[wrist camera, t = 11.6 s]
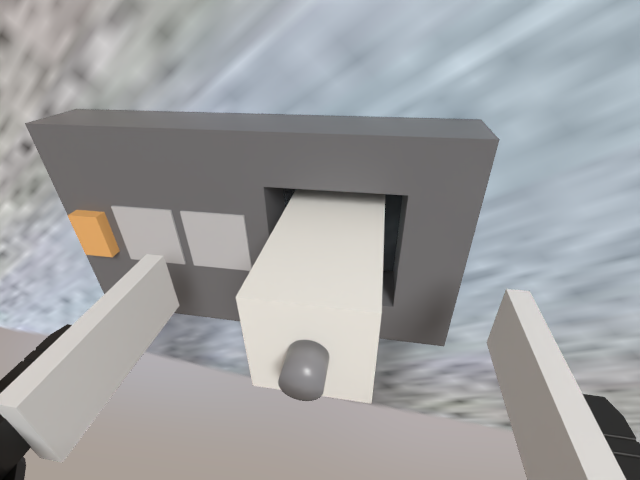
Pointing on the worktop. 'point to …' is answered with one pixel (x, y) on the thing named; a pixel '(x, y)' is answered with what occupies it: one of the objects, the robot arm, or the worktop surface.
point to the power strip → (266, 197)
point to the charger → (317, 297)
